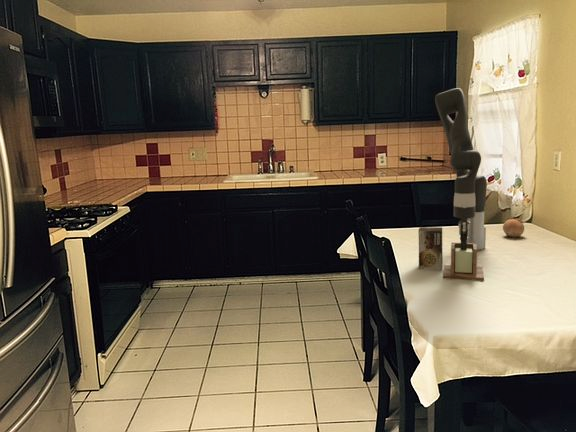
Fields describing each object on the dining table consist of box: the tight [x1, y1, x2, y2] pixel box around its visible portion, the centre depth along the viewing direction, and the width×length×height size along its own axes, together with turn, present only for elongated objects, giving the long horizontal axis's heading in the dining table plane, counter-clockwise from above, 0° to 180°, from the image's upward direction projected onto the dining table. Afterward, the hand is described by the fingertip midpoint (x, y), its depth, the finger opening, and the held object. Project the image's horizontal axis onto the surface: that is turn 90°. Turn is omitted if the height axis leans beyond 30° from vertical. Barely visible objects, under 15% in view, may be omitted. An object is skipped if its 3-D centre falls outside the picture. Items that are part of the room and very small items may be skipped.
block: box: [455, 248, 473, 273], centre depth 181 cm, size 6×6×8 cm
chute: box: [443, 242, 485, 281], centre depth 181 cm, size 14×14×11 cm
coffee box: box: [417, 226, 444, 271], centre depth 190 cm, size 9×6×16 cm
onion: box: [502, 218, 525, 238], centre depth 233 cm, size 10×9×10 cm
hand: (463, 249), depth 180 cm, fingers closed
